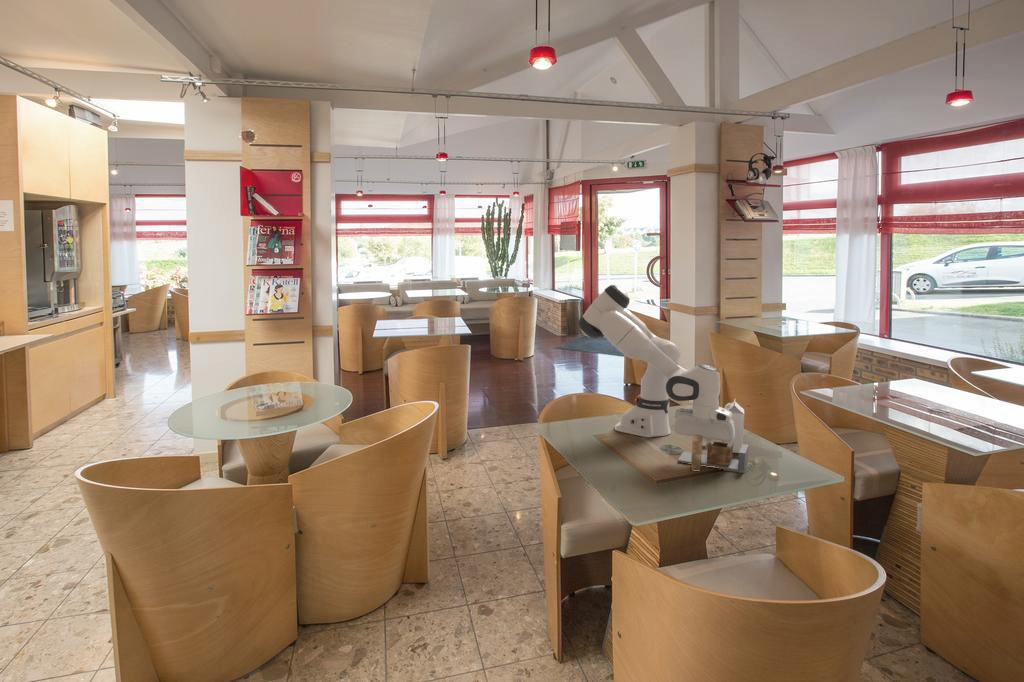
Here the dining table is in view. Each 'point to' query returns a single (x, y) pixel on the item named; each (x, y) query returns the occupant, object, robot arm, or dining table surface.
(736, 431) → the milk carton
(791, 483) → the dining table surface
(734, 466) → the grey l-shaped piece
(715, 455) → the block
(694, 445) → the dowel
